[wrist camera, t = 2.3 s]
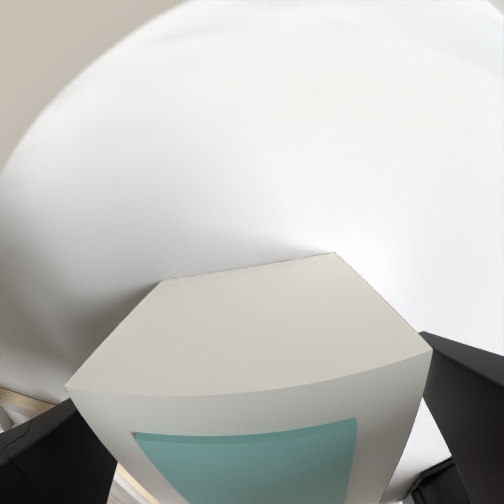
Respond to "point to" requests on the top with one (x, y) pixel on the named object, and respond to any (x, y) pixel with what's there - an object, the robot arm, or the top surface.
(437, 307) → the top surface
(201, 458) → the block
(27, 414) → the rail panel
